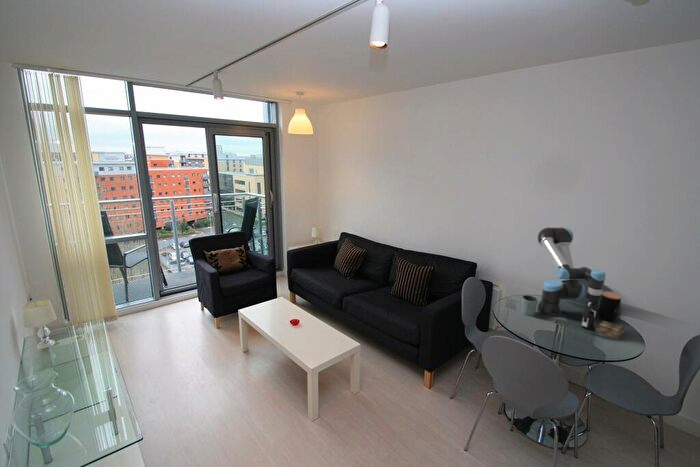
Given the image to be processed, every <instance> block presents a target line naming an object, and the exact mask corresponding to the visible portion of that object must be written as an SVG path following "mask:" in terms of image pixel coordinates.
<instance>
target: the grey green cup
mask: <svg viewBox="0 0 700 467" xmlns="http://www.w3.org/2000/svg"><path fill="white" fill-rule="evenodd" d="M538 304H539V299H538V297H537V296H534V295H530V294H525V295H522V296H521V313H522V314H523V315H525V316H528V317H532V316H535V315H536V311H537V305H538Z"/></svg>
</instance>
